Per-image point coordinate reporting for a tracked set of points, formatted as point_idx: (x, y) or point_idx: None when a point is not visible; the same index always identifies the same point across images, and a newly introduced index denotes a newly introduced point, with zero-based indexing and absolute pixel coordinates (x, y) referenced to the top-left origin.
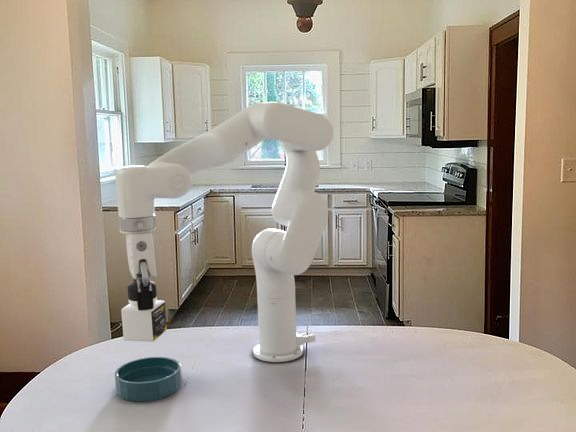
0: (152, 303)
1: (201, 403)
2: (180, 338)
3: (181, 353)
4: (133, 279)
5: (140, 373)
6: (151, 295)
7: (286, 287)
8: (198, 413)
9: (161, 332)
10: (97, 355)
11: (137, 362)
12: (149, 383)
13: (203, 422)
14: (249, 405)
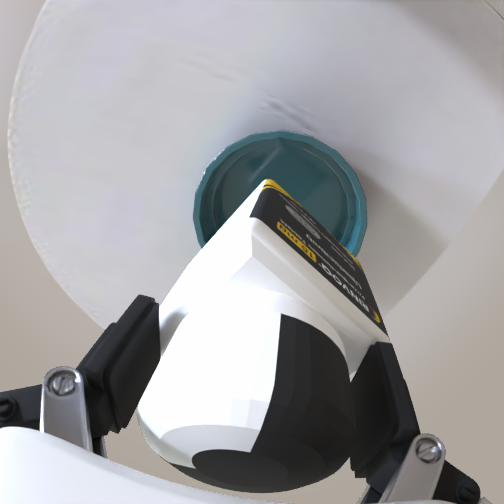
0: (394, 363)
1: (420, 143)
2: (52, 74)
3: (124, 82)
4: (104, 442)
5: (216, 211)
6: (405, 405)
7: None
8: (450, 170)
9: (314, 219)
10: (66, 248)
11: (202, 223)
12: (360, 245)
13: (478, 180)
14: (473, 78)
